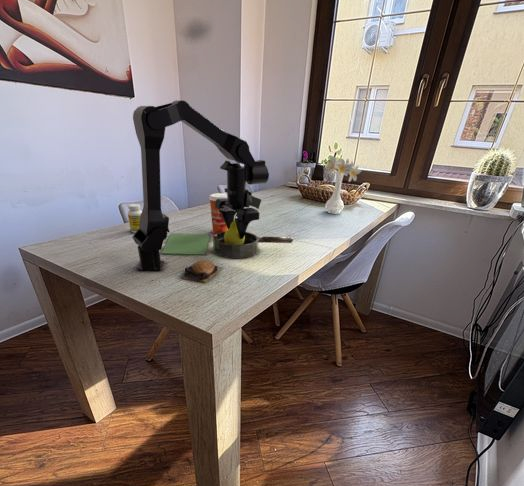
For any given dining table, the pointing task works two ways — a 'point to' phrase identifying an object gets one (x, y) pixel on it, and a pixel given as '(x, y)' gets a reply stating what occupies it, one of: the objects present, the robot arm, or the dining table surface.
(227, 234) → the fruit
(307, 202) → the dining table surface
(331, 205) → the flower vase
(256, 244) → the pan
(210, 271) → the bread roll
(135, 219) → the supplement bottle
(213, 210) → the paper cup
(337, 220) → the dining table surface
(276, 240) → the pan handle
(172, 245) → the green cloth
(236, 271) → the dining table surface
